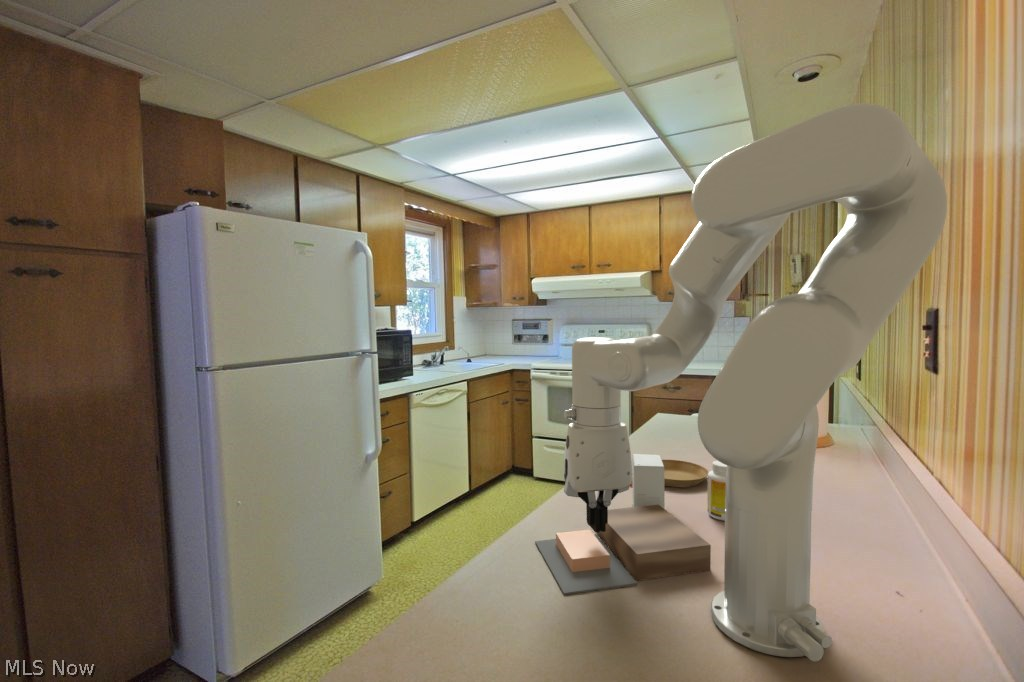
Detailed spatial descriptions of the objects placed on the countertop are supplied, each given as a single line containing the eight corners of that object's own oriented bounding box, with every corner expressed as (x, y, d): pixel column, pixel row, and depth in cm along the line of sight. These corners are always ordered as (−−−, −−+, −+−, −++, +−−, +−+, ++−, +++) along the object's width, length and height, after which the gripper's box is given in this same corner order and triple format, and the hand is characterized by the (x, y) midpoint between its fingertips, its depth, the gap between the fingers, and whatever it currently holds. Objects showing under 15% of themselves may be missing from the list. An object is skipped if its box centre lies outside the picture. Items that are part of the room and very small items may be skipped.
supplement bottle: (744, 521, 92) (745, 467, 91) (715, 522, 92) (715, 468, 91) (730, 509, 98) (731, 458, 97) (702, 510, 98) (702, 459, 97)
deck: (710, 570, 75) (710, 544, 75) (637, 580, 73) (637, 554, 73) (658, 525, 91) (658, 504, 91) (596, 533, 88) (596, 511, 88)
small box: (664, 522, 93) (665, 466, 92) (633, 520, 94) (633, 465, 93) (660, 505, 100) (660, 454, 100) (632, 503, 102) (632, 453, 101)
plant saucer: (693, 468, 123) (693, 458, 123) (720, 490, 109) (720, 478, 108) (634, 470, 123) (634, 460, 123) (653, 492, 108) (653, 480, 108)
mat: (636, 584, 72) (637, 582, 72) (564, 595, 70) (564, 592, 70) (595, 535, 87) (595, 534, 87) (535, 542, 85) (535, 541, 85)
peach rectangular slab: (572, 559, 75) (572, 572, 75) (609, 554, 76) (609, 567, 76) (555, 533, 84) (556, 544, 84) (589, 529, 85) (589, 540, 85)
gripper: (558, 423, 73) (559, 544, 75) (651, 417, 76) (651, 533, 78) (544, 413, 81) (545, 523, 82) (629, 408, 84) (630, 514, 85)
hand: (597, 528), depth 80 cm, fingers closed
